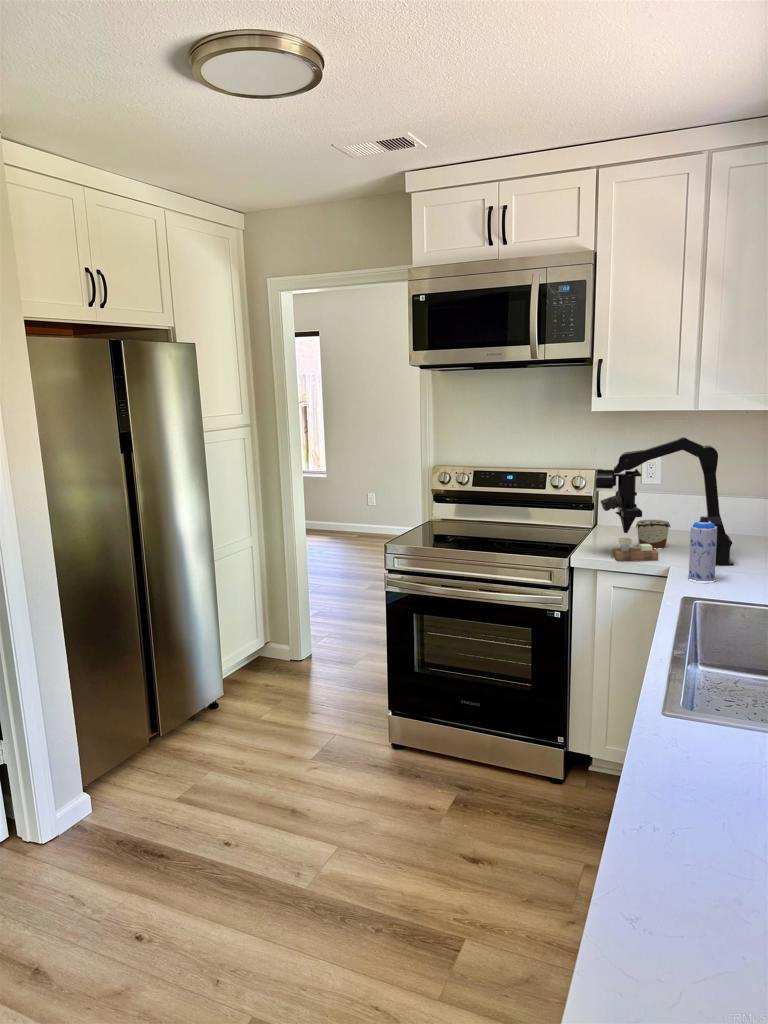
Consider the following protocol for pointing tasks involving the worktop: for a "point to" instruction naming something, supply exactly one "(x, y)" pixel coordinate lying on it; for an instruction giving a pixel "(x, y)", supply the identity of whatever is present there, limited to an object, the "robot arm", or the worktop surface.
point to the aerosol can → (702, 550)
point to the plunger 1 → (625, 543)
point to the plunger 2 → (645, 547)
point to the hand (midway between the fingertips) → (625, 532)
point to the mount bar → (635, 555)
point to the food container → (653, 532)
